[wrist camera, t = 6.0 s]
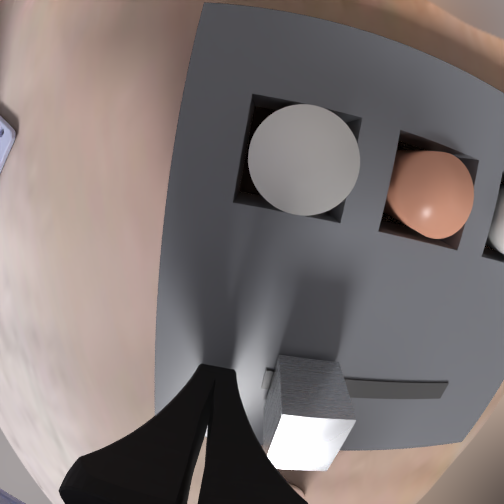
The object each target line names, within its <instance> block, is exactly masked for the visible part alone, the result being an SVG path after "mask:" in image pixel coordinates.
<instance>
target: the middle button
mask: <svg viewBox="0 0 504 504" xmlns="http://www.w3.org/2000/svg"><path fill="white" fill-rule="evenodd" d="M473 201H474V187H473V182H472V178H471V176H470V173H469V171H468V169H467V168H466V166H465V165H464V164H463V163H462V161H460V160H459V159H458V158H457V157H455V156H454V155H452V154H449V153H446V152H438V151H420V150H397V151H396V156H395V161H394V166H393V171H392V175H391V180H390V185H389V189H388V193H387V198H386V202H385V206H384V210H383V211H384V212H385V213H386V214H388V215H390V216H391V217H393V218H395V219H397V220H398V221H400V222H402V223H404V224H405V225H407V226H409V227H410V228H412V229H414V230H415V231H417V232H419V233H420V234H422V235H424V236H426V237H429V238H433V239H442V238H446V237H449V236H451V235H453V234H454V233H456V232H457V231H458V230H460V229H461V228H462V226H463V225H464V224H465V222H466V221H467V219H468V217H469V215H470V213H471V210H472V207H473Z"/></svg>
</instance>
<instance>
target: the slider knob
mask: <svg viewBox="0 0 504 504" xmlns="http://www.w3.org/2000/svg"><path fill="white" fill-rule="evenodd" d="M355 422H356V416H355V413H354V409H353V406H352V403H351V399H350V396H349V393H348V389H347V386H346V383H345V380H344V376H343V373H342V370H341V367H340V364H339V362H333V361H324V360H315V359H307V358H299V357H292V356H284V355H279V357H278V360H277V364H276V368H275V371H274V375H273V378H272V382H271V385H270V388H269V392H268V395H267V399H266V402H265V405H264V409H263V450H264V451H265V453H266V455H267V456H268V458H269V459H270V461H271V462H272V463H273V465H274V466H275V467H276V469H288V470H308V471H327V469H328V468H329V466H330V464H331V463H332V461H333V460H334V458H335V456H336V455H337V453H338V451H339V450H340V448H341V446H342V445H343V443H344V441H345V440H346V438H347V436H348V434H349V433H350V431H351V429H352V427H353V425H354V424H355Z"/></svg>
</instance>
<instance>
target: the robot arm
mask: <svg viewBox="0 0 504 504" xmlns="http://www.w3.org/2000/svg"><path fill="white" fill-rule="evenodd" d="M3 129H4V134H3ZM15 135H16V134H15V130H14V129H13V128H12V127H11V126H10V125H9V124H8V123H7V122H6V121H5V120H4V119H3V118H2V117H1V116H0V173H1V170H2V168H3V166H4V163H5V161H6V159H7V156H8V154H9V152H10V149H11V147H12V145H13V143H14V141H15ZM207 427H208V430H207ZM206 430H207V443H206V457H205V468H204V473H203V478H202V484H201V489H200V494H199V499H198V504H308V503H307V502H306V501H305V500H304V499H303V498H302V497H301V496H300V495H299V494H298V493H297V492H296V491H295V490H294V489H293V488H292V487H291V486H290V485H289V484H288V482H287V481H286V480H285V479H284V478H283V477H282V475H281V474H280V473H279V471H278V470H277V469H276V467H275V466H274V465H273V463H272V462H271V461H270V459H269V458H268V456H267V455H266V453H265V451H264V450H263V448H262V447H261V445H260V443H259V441H258V439H257V437H256V435H255V433H254V431H253V429H252V427H251V425H250V422H249V420H248V418H247V415H246V412H245V410H244V407H243V403H242V400H241V397H240V393H239V389H238V384H237V376H236V371H235V370H234V369H229V368H223V367H218V366H213V365H207V364H200V365H199V366H198V367H197V369H196V371H195V372H194V374H193V375H192V377H191V378H190V380H189V381H188V382H187V383H186V385H185V386H184V387H183V388H182V389H181V391H180V392H179V393H178V394H177V395H176V396H175V397H174V398H173V399H172V400H171V401H170V402H169V403H168V404H167V405H166V406H165V407H164V408H163V409H162V410H161V411H160V412H159V413H158V414H156V415H155V416H154V417H153V418H152V419H150V420H149V421H148V422H146V423H145V424H144V425H142V426H141V427H139V428H138V429H136V430H135V431H134V432H132V433H130V434H129V435H127V436H125V437H124V438H122V439H120V440H118V441H116V442H114V443H112V444H110V445H108V446H106V447H104V448H102V449H100V450H97V451H94V452H92V453H89V454H87V455H84V456H81V457H79V458H78V459H77V461H76V462H75V463H74V464H73V466H72V467H71V468H70V470H69V471H68V472H67V474H66V476H65V478H64V480H63V482H62V484H61V486H60V489H59V493H60V496H61V498H62V500H63V501H64V503H65V504H187V500H188V495H189V490H190V485H191V480H192V476H193V472H194V468H195V465H196V462H197V459H198V456H199V452H200V449H201V446H202V443H203V440H204V436H205V433H206ZM0 504H25V503H24V502H22V501H20V500H18V499H17V498H15V497H13V496H12V495H10V494H8V493H7V492H5V491H4V490H2V489H0Z"/></svg>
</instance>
